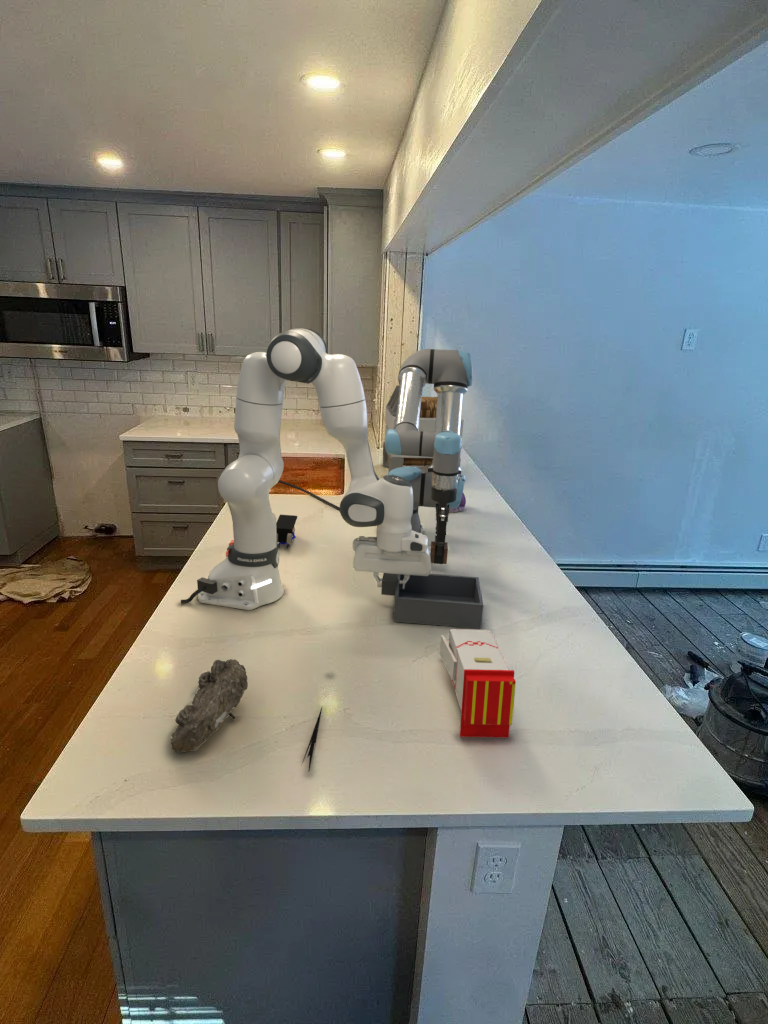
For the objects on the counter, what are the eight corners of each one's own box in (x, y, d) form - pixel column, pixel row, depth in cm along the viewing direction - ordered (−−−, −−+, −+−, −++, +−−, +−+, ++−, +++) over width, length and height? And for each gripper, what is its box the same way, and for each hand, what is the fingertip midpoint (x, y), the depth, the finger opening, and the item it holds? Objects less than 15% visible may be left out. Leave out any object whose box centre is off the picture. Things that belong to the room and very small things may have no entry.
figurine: (452, 514, 221) (455, 477, 216) (438, 506, 229) (441, 470, 224) (472, 511, 225) (475, 475, 220) (457, 503, 234) (460, 468, 229)
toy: (489, 613, 130) (525, 677, 101) (485, 667, 133) (518, 744, 104) (437, 612, 130) (457, 676, 101) (434, 666, 133) (453, 743, 103)
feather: (331, 679, 122) (336, 673, 122) (307, 777, 96) (313, 769, 95) (324, 675, 122) (329, 669, 121) (298, 772, 95) (304, 764, 95)
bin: (378, 620, 144) (380, 590, 141) (383, 591, 158) (385, 564, 155) (480, 629, 142) (484, 599, 139) (475, 599, 157) (479, 571, 154)
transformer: (381, 463, 289) (385, 382, 275) (444, 464, 292) (450, 384, 279) (389, 482, 257) (393, 392, 243) (459, 483, 261) (467, 394, 247)
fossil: (195, 660, 117) (247, 628, 112) (227, 691, 120) (279, 661, 115) (146, 746, 98) (206, 711, 93) (185, 779, 101) (245, 748, 96)
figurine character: (292, 555, 182) (298, 532, 196) (292, 534, 179) (298, 513, 192) (272, 554, 182) (279, 532, 195) (270, 533, 179) (278, 512, 192)
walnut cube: (429, 563, 170) (431, 548, 168) (430, 556, 175) (431, 541, 173) (446, 564, 170) (448, 549, 168) (446, 557, 174) (447, 542, 172)
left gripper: (351, 540, 142) (350, 589, 147) (433, 546, 141) (429, 595, 145) (354, 531, 148) (353, 578, 152) (433, 536, 147) (429, 584, 151)
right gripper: (458, 498, 155) (451, 573, 163) (456, 478, 172) (449, 547, 180) (431, 496, 155) (425, 572, 164) (431, 476, 172) (426, 546, 181)
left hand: (390, 587), depth 149 cm, fingers closed on bin, 4 cm apart
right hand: (438, 559), depth 172 cm, fingers closed on walnut cube, 5 cm apart
